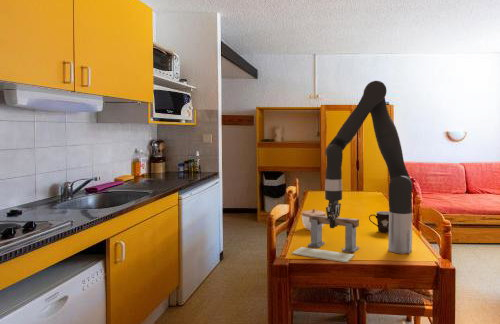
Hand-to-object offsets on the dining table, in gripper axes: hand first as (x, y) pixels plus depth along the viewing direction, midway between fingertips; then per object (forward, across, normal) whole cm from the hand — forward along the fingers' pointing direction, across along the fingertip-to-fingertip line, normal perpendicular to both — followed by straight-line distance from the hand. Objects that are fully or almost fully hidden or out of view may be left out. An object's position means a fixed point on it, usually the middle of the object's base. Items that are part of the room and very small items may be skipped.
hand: (333, 227), depth 187 cm
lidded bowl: (+10, +29, +21) cm, 37 cm away
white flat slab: (+9, -13, 0) cm, 16 cm away
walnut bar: (-1, 0, 0) cm, 1 cm away
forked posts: (+9, 0, 0) cm, 9 cm away
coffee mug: (+10, +42, -12) cm, 45 cm away
